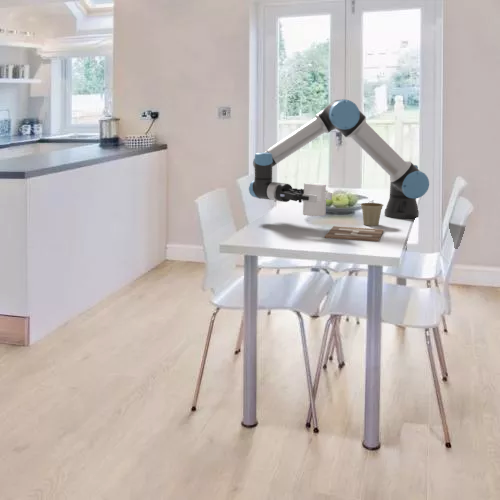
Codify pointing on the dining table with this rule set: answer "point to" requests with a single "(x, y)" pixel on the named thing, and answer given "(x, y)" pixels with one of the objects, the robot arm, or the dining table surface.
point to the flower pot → (371, 213)
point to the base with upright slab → (320, 205)
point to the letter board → (354, 233)
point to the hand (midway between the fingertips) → (323, 197)
